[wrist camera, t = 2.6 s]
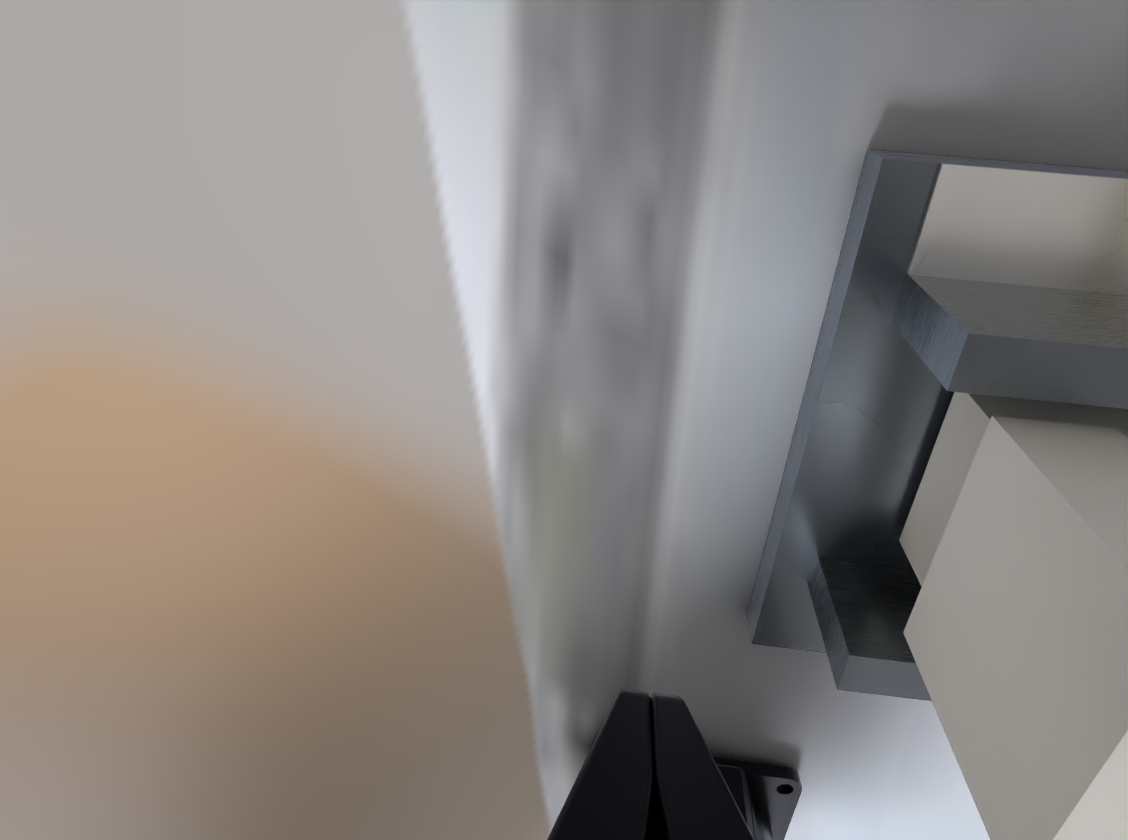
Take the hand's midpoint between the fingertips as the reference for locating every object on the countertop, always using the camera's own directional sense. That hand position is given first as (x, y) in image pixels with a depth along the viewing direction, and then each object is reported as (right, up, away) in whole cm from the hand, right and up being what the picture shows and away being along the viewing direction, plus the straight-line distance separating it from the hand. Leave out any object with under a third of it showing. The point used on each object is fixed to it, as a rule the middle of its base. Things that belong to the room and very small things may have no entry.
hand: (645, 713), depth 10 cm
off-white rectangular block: (+8, +3, +6) cm, 10 cm away
